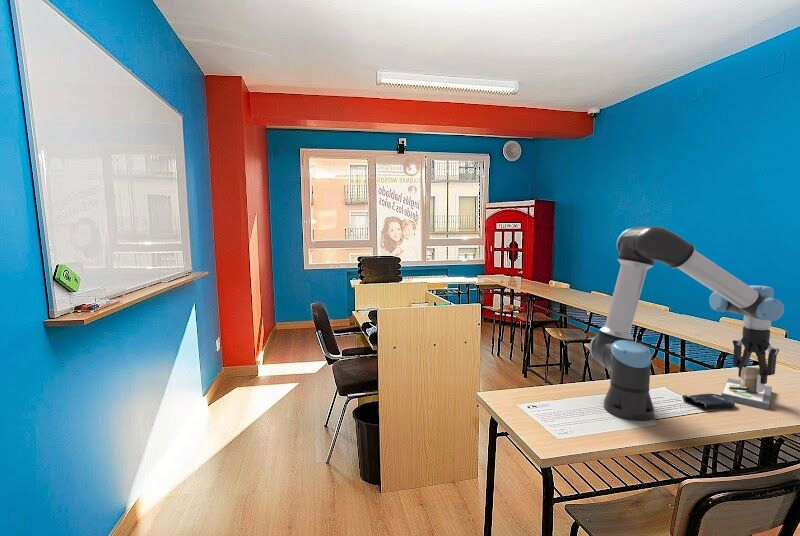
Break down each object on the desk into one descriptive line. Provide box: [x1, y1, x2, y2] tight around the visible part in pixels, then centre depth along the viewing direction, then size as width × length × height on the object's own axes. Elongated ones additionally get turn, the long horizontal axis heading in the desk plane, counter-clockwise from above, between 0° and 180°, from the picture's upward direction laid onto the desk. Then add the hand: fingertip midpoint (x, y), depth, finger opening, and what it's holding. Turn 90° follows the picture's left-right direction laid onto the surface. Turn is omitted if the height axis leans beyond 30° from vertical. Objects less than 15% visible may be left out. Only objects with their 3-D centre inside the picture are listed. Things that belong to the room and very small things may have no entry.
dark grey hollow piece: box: [682, 393, 736, 411], centre depth 141 cm, size 9×6×15 cm
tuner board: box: [720, 377, 773, 410], centre depth 149 cm, size 22×13×2 cm, turn 135°
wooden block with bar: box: [729, 366, 760, 394], centre depth 147 cm, size 3×10×9 cm, turn 78°
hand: (751, 388), depth 147 cm, fingers closed on wooden block with bar, 4 cm apart
